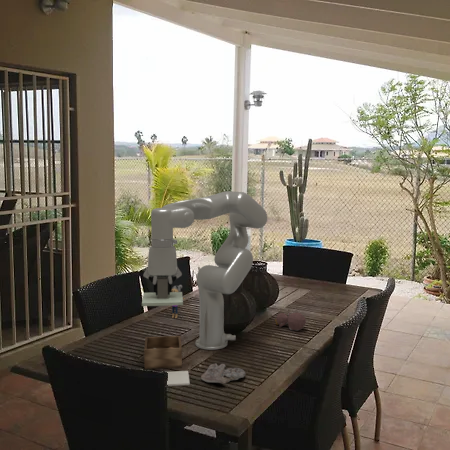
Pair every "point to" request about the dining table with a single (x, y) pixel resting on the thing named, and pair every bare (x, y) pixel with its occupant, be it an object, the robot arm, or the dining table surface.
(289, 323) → the toy
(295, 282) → the dining table surface
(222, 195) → the robot arm
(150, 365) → the walnut box
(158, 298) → the lid
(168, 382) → the stone tile
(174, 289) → the toy
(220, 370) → the fossil
